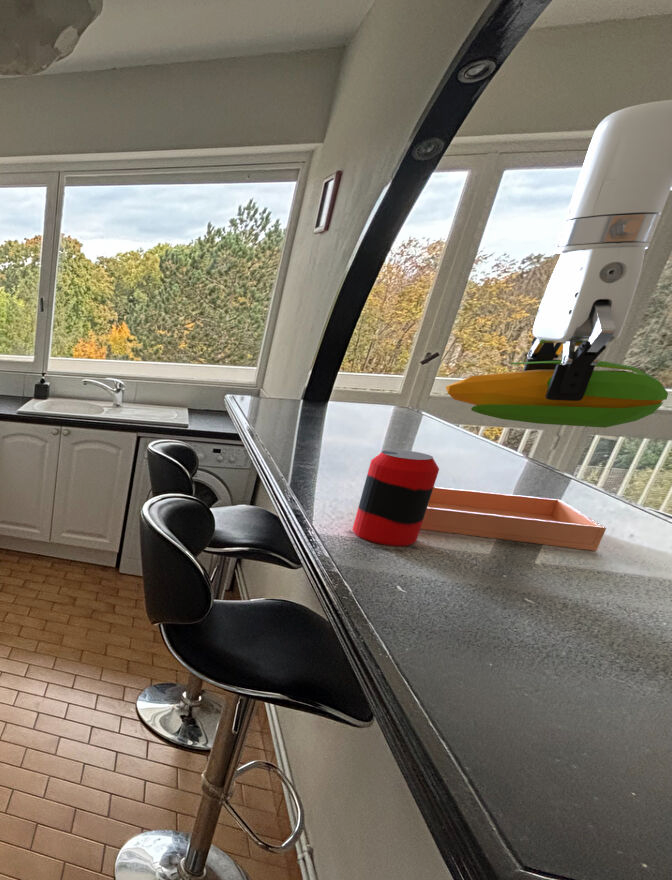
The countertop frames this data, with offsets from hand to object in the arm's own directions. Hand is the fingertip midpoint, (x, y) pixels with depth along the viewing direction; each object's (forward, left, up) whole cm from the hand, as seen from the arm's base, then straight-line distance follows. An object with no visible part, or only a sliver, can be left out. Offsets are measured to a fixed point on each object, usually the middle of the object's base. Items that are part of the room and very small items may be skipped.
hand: (547, 394), depth 73 cm
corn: (0, 0, -4) cm, 4 cm away
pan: (0, -11, -20) cm, 23 cm away
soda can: (+13, +2, -21) cm, 24 cm away
